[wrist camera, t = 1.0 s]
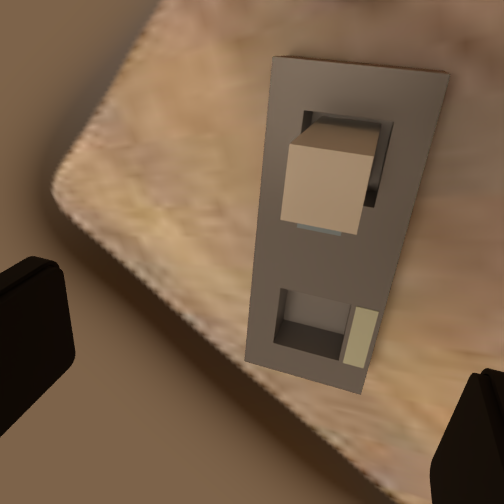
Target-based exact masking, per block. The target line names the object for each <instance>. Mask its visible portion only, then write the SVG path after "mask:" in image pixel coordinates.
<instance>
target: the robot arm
mask: <svg viewBox="0 0 504 504" xmlns="http://www.w3.org/2000/svg"><path fill="white" fill-rule="evenodd" d="M74 359H75V346H74V340H73V333H72V327H71V320H70V313H69V307H68V300H67V293H66V287H65V280H64V274H63V271H62V270H61V269H60V268H59V265H58V264H57V263H56V262H54V261H52V260H48V259H43V258H39V257H35V256H31V257H28V258H26V259H24V260H22V261H20V262H19V263H17V264H15V265H14V266H12V267H10V268H9V269H7V270H5V271H3V272H2V273H0V437H1V436H2V435H3V434H4V433H5V432H6V431H7V430H8V429H9V428H10V427H11V426H12V425H13V424H14V423H15V422H16V421H17V420H18V419H19V418H20V417H21V416H22V415H23V414H24V412H26V411H27V410H28V409H29V408H30V407H31V406H32V405H33V404H34V403H35V402H36V401H37V400H38V399H39V398H40V397H41V396H42V395H43V393H45V392H46V391H47V389H48V388H50V387H51V386H52V385H53V384H54V383H55V382H56V381H57V379H59V378H60V377H61V376H62V375H63V374H64V373H65V372H66V371H67V370H68V369H69V367H70V366H71V365H72V363H73V361H74ZM430 486H431V496H432V504H504V372H501V371H497V370H493V369H489V368H486V369H484V370H483V371H482V372H481V374H478V373H472V374H471V376H470V377H469V379H468V382H467V384H466V386H465V388H464V390H463V393H462V395H461V397H460V399H459V402H458V404H457V406H456V408H455V410H454V413H453V415H452V417H451V419H450V421H449V424H448V426H447V428H446V430H445V433H444V435H443V437H442V439H441V441H440V444H439V446H438V448H437V450H436V452H435V455H434V457H433V459H432V462H431V467H430Z"/></svg>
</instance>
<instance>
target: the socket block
mask: <svg viewBox="0 0 504 504" xmlns="http://www.w3.org/2000/svg"><path fill="white" fill-rule="evenodd" d="M450 75H451V74H449V73H447V72H445V71H440V70H429V69H419V68H409V67H399V66H389V65H379V64H368V63H358V62H348V61H338V60H328V59H317V58H307V57H297V56H273V58H272V68H271V79H270V90H269V101H268V112H267V122H266V133H265V144H264V155H263V166H262V177H261V187H260V198H259V209H258V220H257V231H256V242H255V252H254V263H253V274H252V285H251V296H250V307H249V317H248V328H247V339H246V350H245V361H246V362H249V363H253V364H256V365H260V366H263V367H266V368H270V369H273V370H277V371H280V372H284V373H287V374H291V375H294V376H298V377H301V378H305V379H308V380H312V381H315V382H318V383H322V384H325V385H329V386H332V387H336V388H339V389H343V390H346V391H350V392H353V393H357V394H360V395H361V392H362V389H363V385H364V382H365V378H366V374H367V371H368V367H369V364H370V360H371V357H372V353H373V349H374V346H375V342H376V339H377V335H378V332H379V328H380V324H381V321H382V317H383V314H384V310H385V307H386V303H387V299H388V296H389V292H390V289H391V285H392V282H393V278H394V274H395V271H396V267H397V264H398V260H399V257H400V253H401V249H402V246H403V242H404V239H405V235H406V232H407V228H408V224H409V221H410V217H411V214H412V210H413V207H414V203H415V199H416V196H417V192H418V189H419V185H420V182H421V178H422V175H423V171H424V167H425V164H426V160H427V157H428V153H429V150H430V146H431V142H432V139H433V135H434V132H435V128H436V125H437V121H438V117H439V114H440V110H441V107H442V103H443V100H444V96H445V92H446V89H447V85H448V82H449V78H450ZM321 116H329V117H336V118H344V119H352V120H359V121H367V122H375V123H381V128H380V132H379V137H378V141H377V146H376V151H375V155H374V160H373V164H372V169H371V173H370V178H369V182H368V187H367V191H366V196H365V200H364V204H363V209H362V213H361V217H360V222H359V226H358V231H357V235H355V234H350V233H345V232H342V233H341V236H337V235H332V234H327V233H322V232H317V231H312V230H307V229H302V228H297V223H294V222H289V221H284V220H280V218H281V210H282V201H283V193H284V185H285V176H286V168H287V160H288V152H289V144H290V143H291V142H292V141H293V140H294V139H296V138H297V137H298V136H299V135H300V134H301V133H303V132H304V131H305V130H306V129H307V128H308V127H310V126H311V125H312V124H313V123H314V122H315V121H317V120H318V119H319V118H320V117H321Z"/></svg>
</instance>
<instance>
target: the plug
mask: <svg viewBox="0 0 504 504" xmlns="http://www.w3.org/2000/svg"><path fill="white" fill-rule="evenodd" d="M380 128H381V123H375V122H367V121H359V120H352V119H344V118H336V117H329V116H321V117H320V118H319V119H318V120H317V121H315V122H314V123H313V124H312V125H311V126H310V127H308V128H307V129H306V130H305V131H304V132H303V133H301V134H300V135H299V136H298V137H297V138H296V139H294V140H293V141H292V142H291V143H290V144H289V152H288V160H287V168H286V176H285V185H284V193H283V201H282V210H281V218H280V220H284V221H289V222H294V223H297V228H302V229H307V230H312V231H317V232H322V233H327V234H332V235H337V236H341V233H342V232H345V233H350V234H355V235H357V231H358V226H359V222H360V217H361V213H362V209H363V204H364V200H365V196H366V191H367V187H368V182H369V178H370V173H371V169H372V164H373V160H374V155H375V151H376V146H377V141H378V137H379V132H380Z"/></svg>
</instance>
